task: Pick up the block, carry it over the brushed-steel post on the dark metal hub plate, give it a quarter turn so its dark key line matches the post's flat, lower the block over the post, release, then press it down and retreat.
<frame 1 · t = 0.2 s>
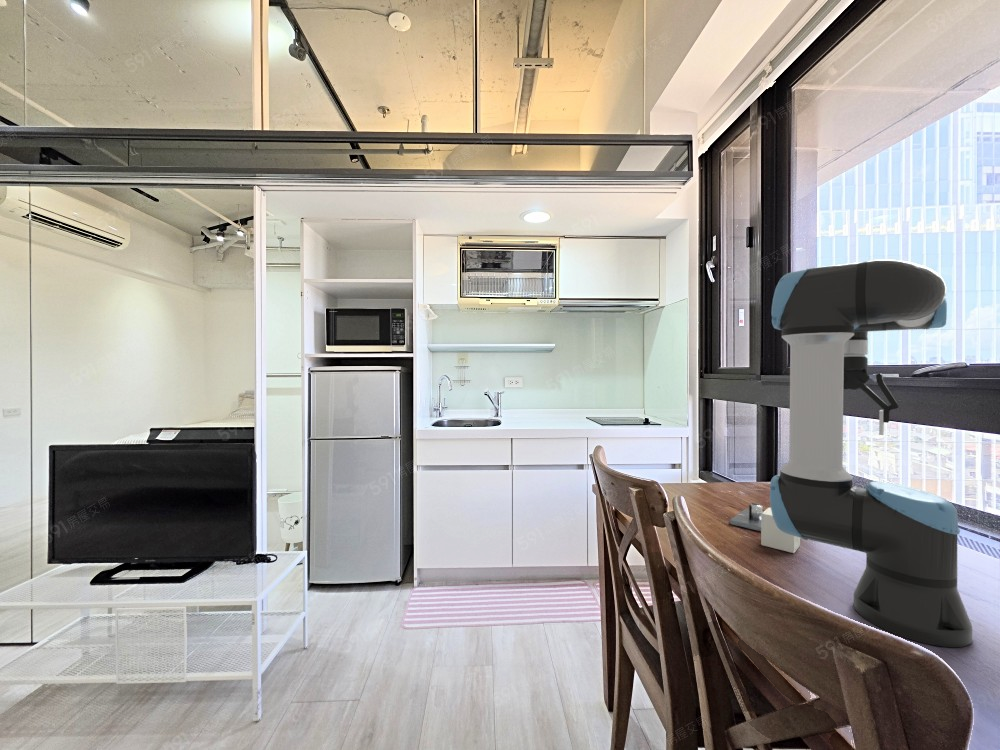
hand: (848, 432, 119), 27 cm above the table, fingers open, 13 cm apart
hub plate: (764, 524, 123), on the table
block: (780, 545, 108), on the table
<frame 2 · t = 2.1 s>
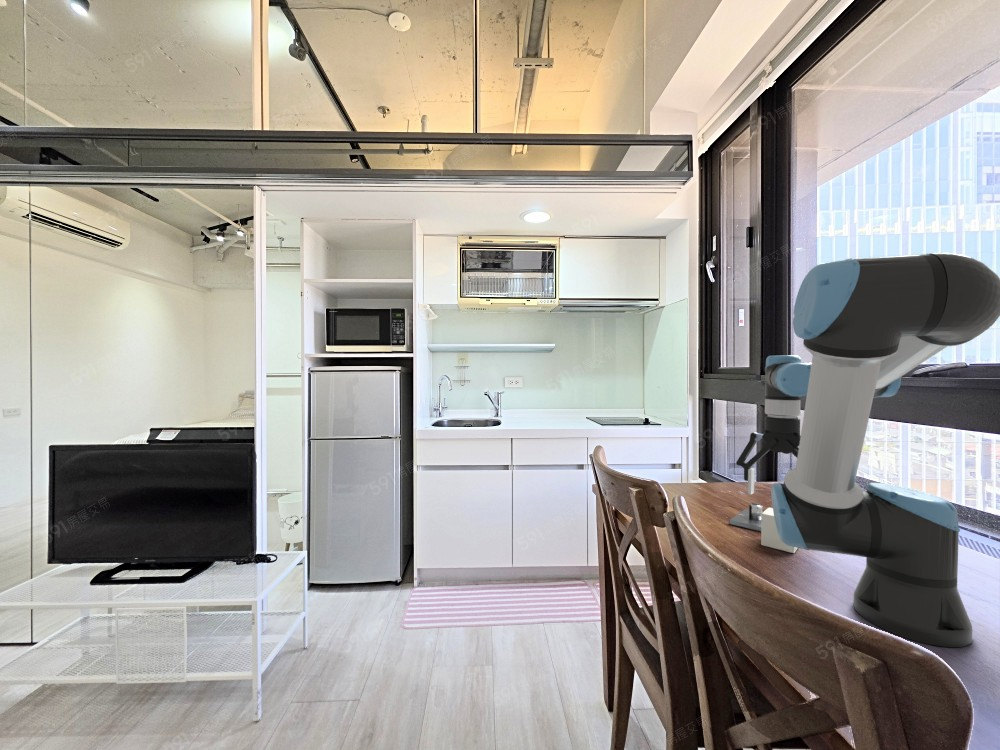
hand: (780, 499, 108), 12 cm above the table, fingers open, 13 cm apart
nothing on the table moved.
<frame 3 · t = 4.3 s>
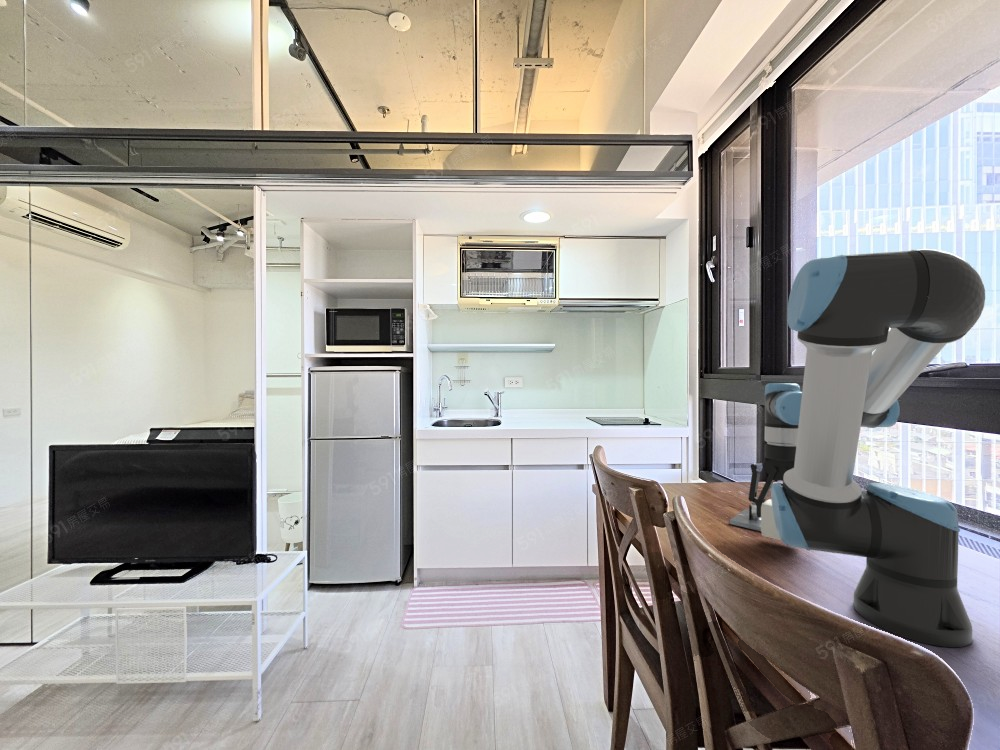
hand: (781, 534, 107), 3 cm above the table, fingers closed on block, 7 cm apart
block: (781, 536, 107), point 3 cm above the table, touching gripper
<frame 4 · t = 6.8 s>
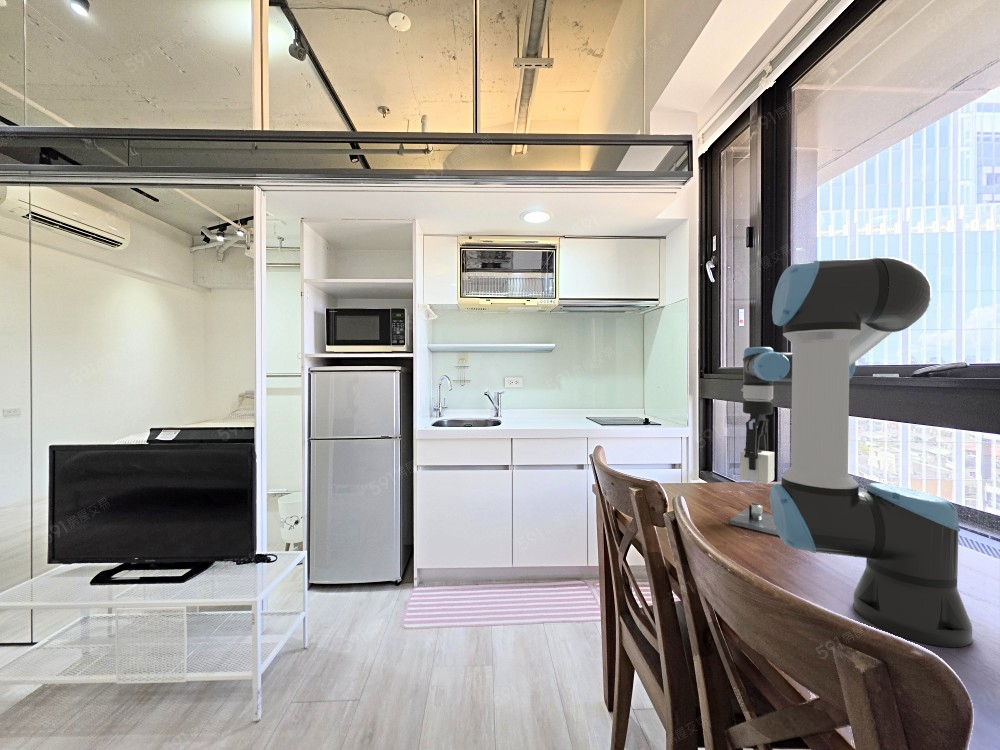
hand: (756, 478, 124), 13 cm above the table, fingers closed on block, 7 cm apart
block: (757, 479, 124), point 13 cm above the table, touching gripper
when the fingers open (3 cm above the table, at t = 9.4 s): block drops 1 cm, resting on hub plate.
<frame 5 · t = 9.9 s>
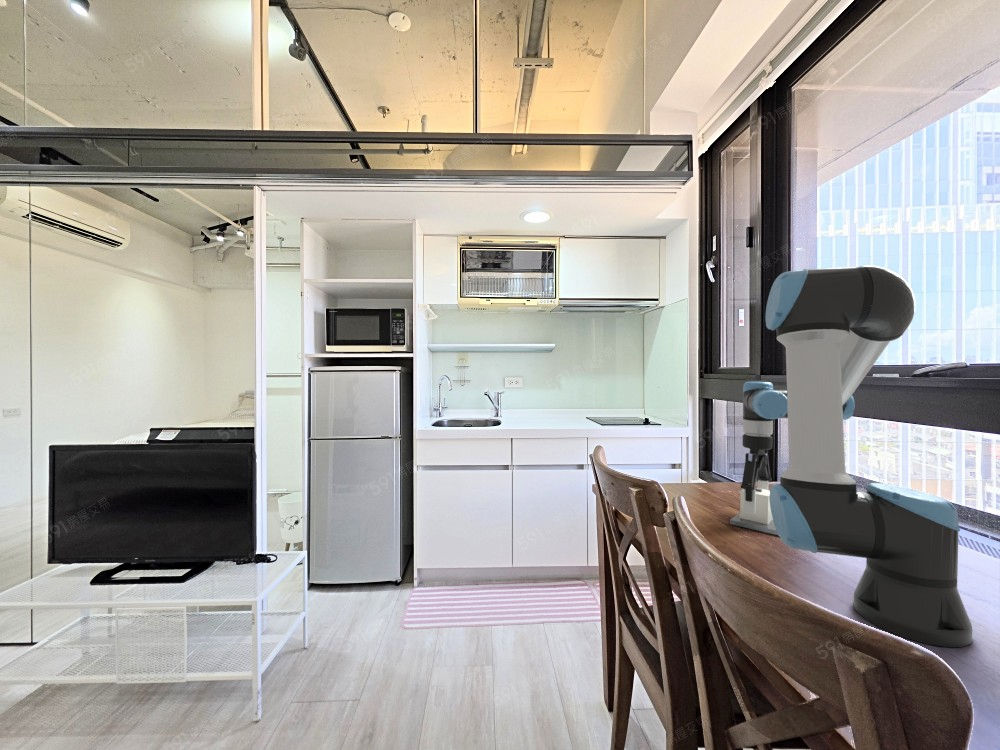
hand: (756, 507, 124), 4 cm above the table, fingers open, 13 cm apart
block: (756, 518, 124), point 1 cm above the table, touching hub plate
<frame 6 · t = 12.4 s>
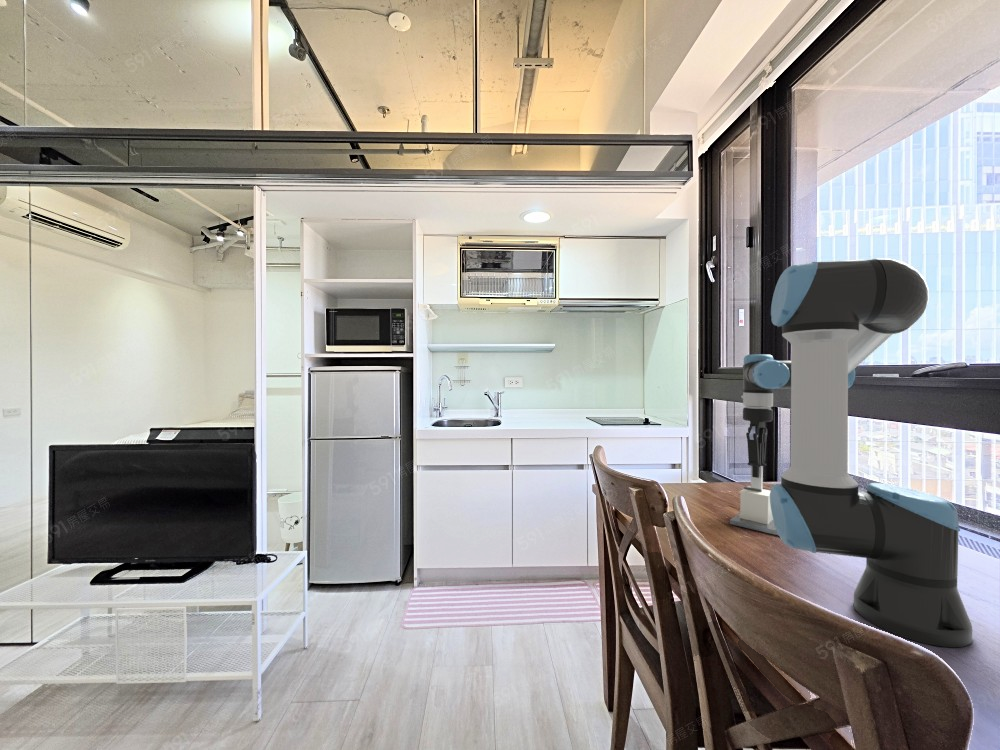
hand: (756, 487, 124), 10 cm above the table, fingers closed
block: (756, 518, 124), point 1 cm above the table, touching gripper, hub plate
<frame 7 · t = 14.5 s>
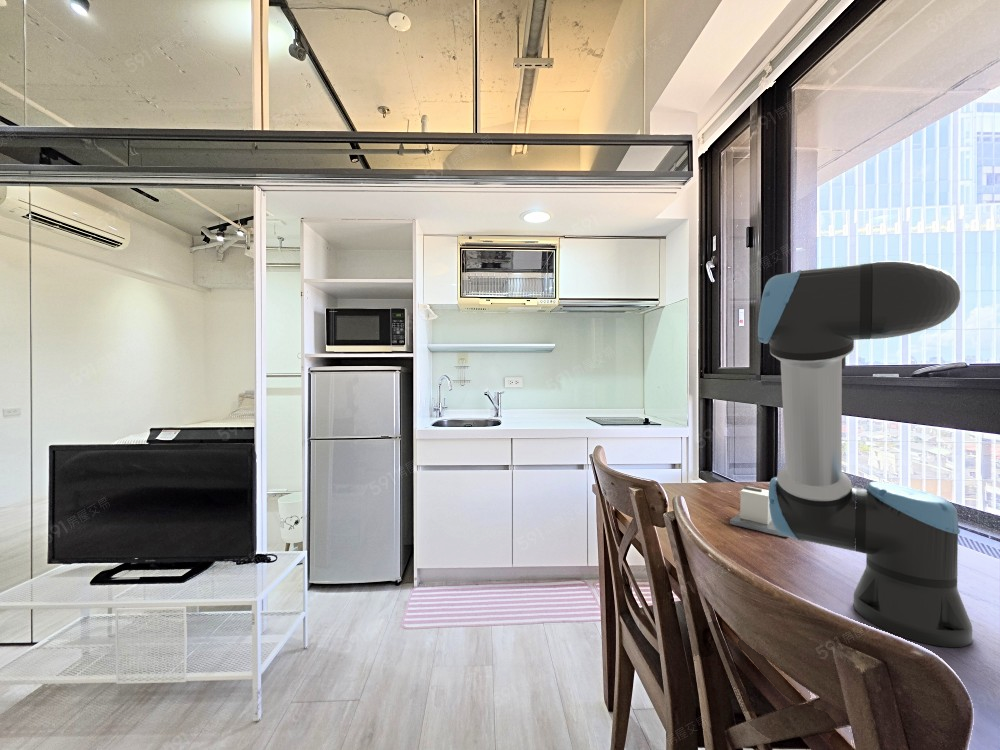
hand: (825, 447, 107), 25 cm above the table, fingers closed
block: (756, 518, 124), point 1 cm above the table, touching hub plate
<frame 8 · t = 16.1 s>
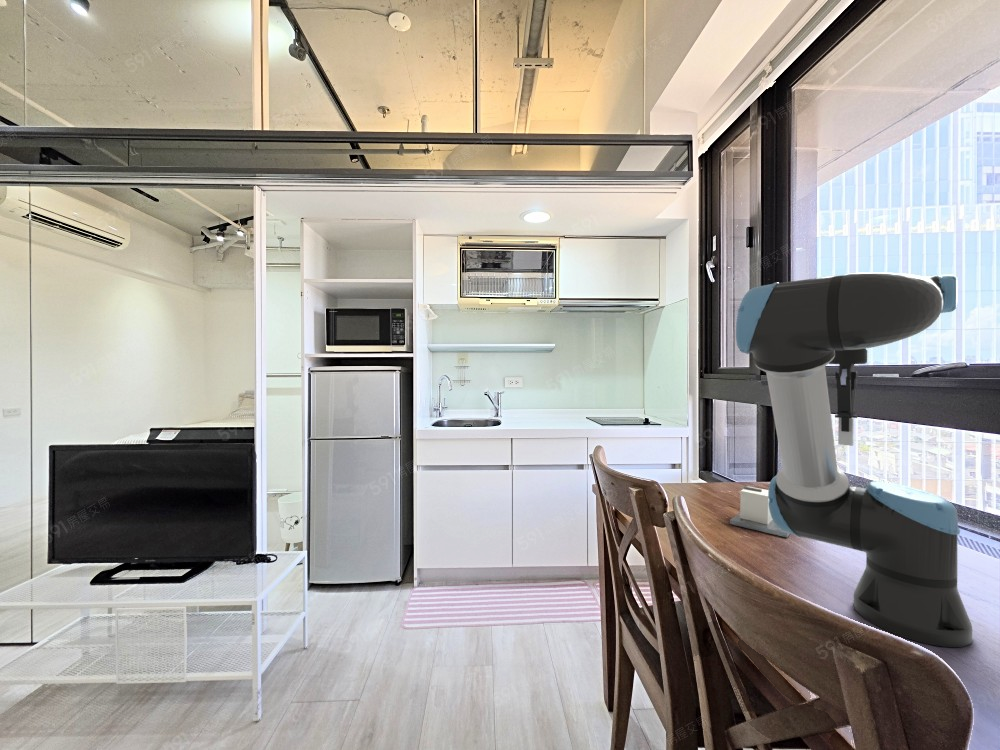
hand: (845, 444, 104), 26 cm above the table, fingers closed
nothing on the table moved.
at the end: block 0.1 cm from the target spot on the hub plate, point 1.3 cm above the hub plate's base; block tilted 1°; the gripper is holding nothing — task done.
